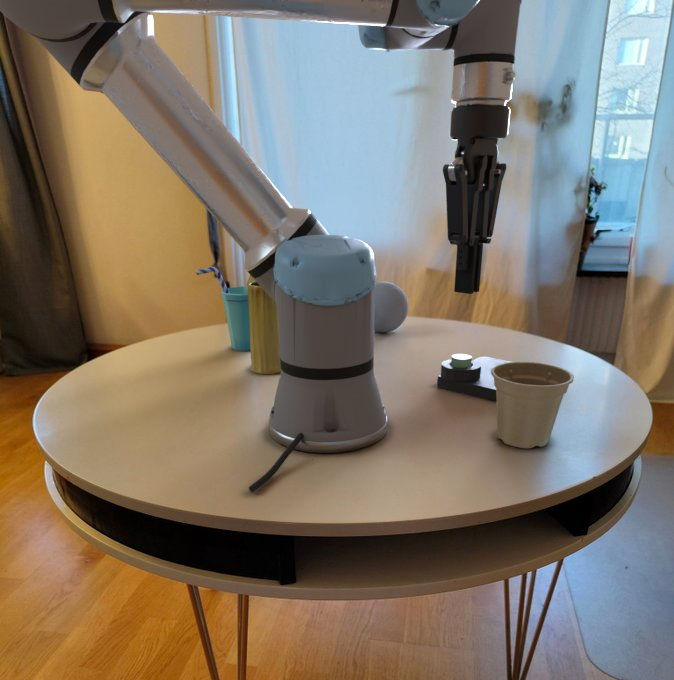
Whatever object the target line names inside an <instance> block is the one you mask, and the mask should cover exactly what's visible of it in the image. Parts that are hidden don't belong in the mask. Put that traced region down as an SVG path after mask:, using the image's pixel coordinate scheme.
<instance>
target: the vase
mask: <svg viewBox="0 0 674 680" xmlns="http://www.w3.org/2000/svg"><path fill="white" fill-rule="evenodd" d="M248 301H249V319H250V358H251V359H250V361H251V364H250V370H251V371H252V372H253V373H255V374H260V375H275V374H281V366H280V348H279V331H278V314H277V306H276V303H275V302H274V301H273V299H272V298H271V297H270V296H269V295H268V294H267V293H266V292H265V290H264V289H263V288H262V287H261V286H260V285H259V284H258V283H257V282H256V281H254V282H250V283H248Z"/></svg>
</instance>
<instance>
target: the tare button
mask: <svg viewBox="0 0 674 680" xmlns="http://www.w3.org/2000/svg"><path fill="white" fill-rule="evenodd" d="M451 359H452V360H451V366H452V367H457V368H468V367H471V362H472V360H473V357H472V355H469V354H467V353H455V354H452V355H451Z"/></svg>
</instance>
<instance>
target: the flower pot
mask: <svg viewBox="0 0 674 680" xmlns="http://www.w3.org/2000/svg"><path fill="white" fill-rule="evenodd" d="M491 374H492V376H493V377H494V385H495V387H496V399H497V401H496V431H497V433H496V436H497V439H499V440H501V441H502V442H503V443H504V444H505V445H507V446H511V447H514V448H520V449H533V448H534V447H539V448H542V447H544V446H547V444H548V443H549V442H550V438H551V435H552V432H553V429H554V426H555V423H556V419H557V417H558V413H559V410H560V407H561V404H562V402H563V397H564V395H566V394H567V392H568V389H569V386H570V385H571V384H572V383H573V382H574V378H575V376H574V375H573V373H571V371H570V370H567V369H565V368H563V367H560V366H557V365H553V364H548V363H543V362H534V361H511V362H508V363H503V364H499V365H497V366H495V367H493V368H492V370H491Z"/></svg>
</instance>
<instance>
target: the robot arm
mask: <svg viewBox="0 0 674 680" xmlns="http://www.w3.org/2000/svg"><path fill="white" fill-rule="evenodd" d="M522 2H523V0H0V12H1V13H2V14H3V16H4V17H5V18H7V19H8V20H9V21H11V22H12V23H13V24H14V25H15V26H17V27H18V28H20V29H21V30H22V31H24V32H26V33H28V34H29V35H31V36H33V37H34V38H35V39H36V41H38V42H39V43H40V44H41V45H42V46H43V47H44V48H45V49H46V50H47V52H48V53H49V54H50V55H51V56H52V57H53V59H54V60H56V61H57V63H59V65H60V66H61V67H62V68H63V69H64V70H65V71H66V73H67V74H68V75H69V76H70V77H71V78H72V79H73V80H74V81H75V83H76V84H77V85H78V86H79V87H80V88H81V89H82V90H83V91H86V92H96V93H101V94H103V95H105V97H106V98H107V99H108V100H109V101H110V103H112V105H113V106H114V107H115V108H116V109H117V110H118V111H119V112H120V114H122V116H123V117H124V118H125V120H127V121H128V123H129V124H130V125H131V126H132V127H133V128H134V129H135V130H136V131H137V133H138V134H139V135H140V136H141V137H142V138H143V139H144V140H145V142H146V143H147V144H148V145H149V146H150V147H151V149H153V150H154V152H156V154H157V155H158V156H159V157H160V158H161V160H163V162H164V163H165V164H166V165H167V166H168V168H170V170H172V172H173V173H174V174H175V175H176V176H177V178H178V179H179V180H180V181H181V182H182V183H183V184H184V185H185V186H186V187H187V189H188V190H189V191H190V192H191V193H192V194H193V195H194V196H195V198H196V199H197V200H198V201H199V202H200V203H201V205H202V206H203V207H204V208H205V209H206V210H207V211H208V212H209V213H210V214H211V215H212V217H213V218H214V219H215V220H216V221H217V222H218V224H220V226H221V227H222V228H223V229H224V230H225V232H227V233H228V234H229V236H230V237H231V238H232V240H234V241H235V243H236V244H237V245H238V246H239V247H240V249H242V250H243V252H244V269H245V271H246V272H247V273H248V274H249V276H250V275H251V276H252V277H253V278H254V279H255V280H256V282H257V283H258V284H259V285H260V286H261V287H262V288H263V289H264V290H265V292H266V293H267V294H268V295H269V296H270V297H271V298H272V299H273V301H274V302H275V303H276V306H277V314H278V331H279V348H280V366H281V372H280V375H279V380H278V384H277V386H276V392H275V397H274V403H273V405H272V407H271V409H270V412H269V420H268V422H269V423H268V424H269V425H268V426H269V433H270V434H269V435H270V436H271V437H272V439H273V440H275V441H276V442H277V443H279V444H280V445H283V446H285V447H286V448H285V450H284V451H283V452H282V453H281V455H280V456H279V457H278V459H277V460H276V461H275V462H274V464H273V465H272V466H271V467H270V468H269V469H268V471H267V472H265V474H263V475H262V477H260V478H259V479H257V480H256V481H255V482H254V483H253V484H251V485H249V487H248V490H249V492H251V493H254V492H256V491H257V490H259V488H261V487H263V486H264V485H265V484H266V483H267V482H268V481H269V480H271V479H272V478H273V476H274V475H275V474H276V473H277V472H278V471H279V469H280V468H281V467H282V466H283V464H284V463H285V462H286V460H287V459H288V458H289V456H290V455H291V454H292V453H293V451H294V450H297V451H301V452H308V453H317V454H318V453H319V454H321V453H322V454H324V453H325V454H331V453H344V452H351V451H355V450H359V449H363V448H366V447H368V446H371V445H374V444H375V443H377V442H379V441H380V440H381V439H382V438H383V437H385V435H386V434H387V431H388V416H387V411H386V408H385V405H384V404H383V401H382V396H381V393H380V390H379V389H380V388H379V386H378V382H377V379H376V375H375V371H374V370H375V369H374V367H375V363H374V361H375V360H374V359H375V358H374V357H375V331H374V307H375V283H377V268H376V262H375V255H374V251H373V249H372V248H371V246H370V245H368V243H366V242H365V241H363V240H361V239H357V238H354V237H353V238H351V237H349V236H346V235H337V234H329V232H328V231H327V230H326V228H325V227H324V226H323V225H322V223H321V222H320V221H319V220H318V219H317V217H316V216H315V215H314V214H313V212H311V210H310V209H309V208H301V207H300V208H299V207H294V206H292V205H291V204H290V203H289V202H288V200H287V199H286V198H285V196H284V195H283V194H282V193H281V191H280V190H279V189H278V188H277V187H276V186H275V184H274V183H273V182H272V181H271V180H270V178H269V177H268V176H267V174H266V173H265V172H264V171H263V170H262V169H261V167H260V166H259V165H258V164H257V162H256V161H255V160H254V158H252V156H251V155H250V154H249V153H248V151H247V150H246V149H245V148H244V147H243V145H242V144H241V143H240V142H239V141H238V139H237V138H236V136H235V135H234V134H233V133H232V132H231V130H229V128H228V127H227V126H226V125H225V123H224V122H223V121H222V119H221V118H220V117H219V116H218V115H217V114H216V112H215V111H214V110H213V108H212V107H211V106H210V105H209V104H208V103H207V101H206V100H205V99H204V98H203V96H202V95H201V94H200V92H198V90H197V89H196V88H195V87H194V86H193V84H192V83H191V82H190V81H189V79H188V78H187V77H186V75H184V74H183V72H182V71H181V70H180V69H179V67H178V66H177V65H176V64H175V62H174V61H173V60H172V59H171V57H170V56H169V55H168V54H167V53H166V51H165V50H164V49H163V48H162V47H161V45H160V44H159V43H158V42H157V40H156V37H155V24H154V23H155V21H154V16H153V14H152V13H160V14H161V13H162V14H176V15H177V14H178V15H193V16H211V17H226V18H227V17H229V18H242V19H243V18H244V19H245V18H246V19H261V20H277V21H294V22H295V21H296V22H311V23H313V22H314V23H328V24H329V23H330V24H345V25H358V26H357V27H358V36H359V41H360V43H361V44H362V46H363V47H364V48H365V49H368V50H380V51H385V52H386V53H390V52H391V51H453V62H452V63H453V67H452V68H453V70H452V81H451V83H452V84H451V95H450V96H451V97H450V102H451V103H452V104H455V106H454V107H453V108H452V110H451V111H450V119H449V120H450V121H449V138H450V140H452V141H457V144H456V148H455V151H454V160H453V162H452V163H447V164H446V163H445V164H444V165H443V166H442V175H443V178H444V182H445V196H446V198H445V199H446V200H445V201H446V224H447V225H446V227H447V228H446V229H447V240H448V241H449V244H450V245H452V246H453V245H454V246H455V245H456V258H455V259H456V260H455V272H454V273H455V275H454V287H453V288H454V289H453V290H454V293H460V294H465V295H467V294H468V295H472V294H474V293H479V292H480V285H481V274H482V265H483V264H482V262H483V252H484V244H488V245H489V244H491V242H492V237H493V235H494V230H495V224H496V218H497V213H498V208H499V207H498V206H499V201H500V195H501V191H502V190H501V189H502V184H503V180H504V177H505V174H506V171H507V163H505V162H499V160H498V159H499V149H498V141H499V140H504V139H506V138H507V137H508V135H509V129H510V119H511V108H510V106H508V105H507V103H508V102H509V101H510V100H512V93H513V81H514V80H515V79H516V72H515V71H514V70H515V61H516V49H517V42H518V41H517V39H518V33H519V32H518V31H519V21H520V13H521V6H522V4H523V3H522Z"/></svg>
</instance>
